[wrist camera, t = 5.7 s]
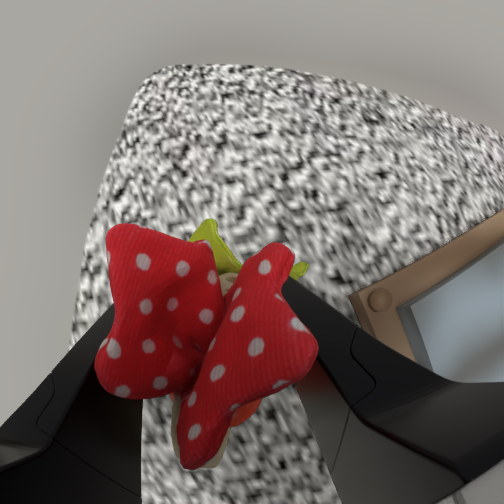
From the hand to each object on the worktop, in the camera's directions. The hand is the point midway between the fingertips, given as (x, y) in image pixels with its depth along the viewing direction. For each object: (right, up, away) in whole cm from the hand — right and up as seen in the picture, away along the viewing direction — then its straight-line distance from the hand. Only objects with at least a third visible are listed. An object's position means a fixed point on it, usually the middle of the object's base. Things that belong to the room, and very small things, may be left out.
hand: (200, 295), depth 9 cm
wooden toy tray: (+20, -6, +11) cm, 23 cm away
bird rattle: (0, -3, +6) cm, 7 cm away
